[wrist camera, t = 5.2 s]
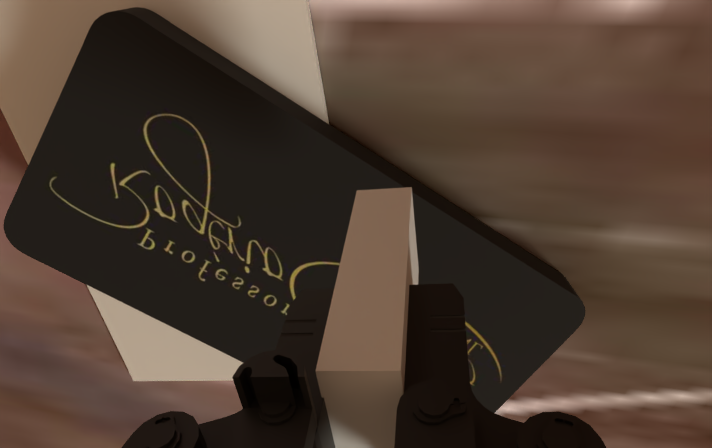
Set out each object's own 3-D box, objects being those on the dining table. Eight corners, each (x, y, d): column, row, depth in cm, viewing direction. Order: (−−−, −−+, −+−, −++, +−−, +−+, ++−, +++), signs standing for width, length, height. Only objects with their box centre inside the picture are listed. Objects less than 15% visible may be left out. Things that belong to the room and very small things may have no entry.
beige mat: (136, 375, 31) (133, 381, 30) (-150, -221, 17) (-162, -223, 17) (371, 373, 29) (370, 379, 28) (255, -312, 15) (251, -315, 15)
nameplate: (126, -7, 19) (21, 218, 22) (104, -4, 17) (-6, 239, 21) (579, 284, 24) (438, 432, 28) (596, 308, 22) (444, 463, 26)
